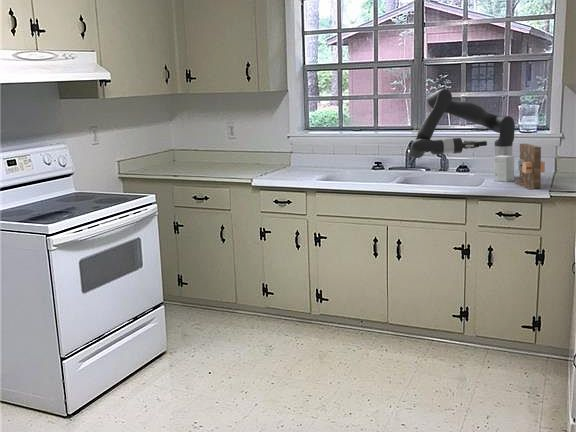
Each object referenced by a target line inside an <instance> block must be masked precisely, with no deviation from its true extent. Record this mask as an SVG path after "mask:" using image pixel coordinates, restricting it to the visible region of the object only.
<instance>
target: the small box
mask: <svg viewBox="0 0 576 432" xmlns="http://www.w3.org/2000/svg"><path fill="white" fill-rule="evenodd" d="M493 157H494V158H493V159H494V165H493V166H494V167H493V170H494V172H493V175H494V176H493V177H494V179H493V180H494V182H505V183H508V182H513V181H515V156H514V155H512V156H504V155H501V156H495V155H494V156H493Z"/></svg>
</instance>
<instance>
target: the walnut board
mask: <svg viewBox="0 0 576 432" xmlns="http://www.w3.org/2000/svg"><path fill="white" fill-rule="evenodd" d="M541 157H542V147H541V146H538V145H532V144H529V143H520V144H519V159H524V160H525V162H530V161H531V162H533V173H523V172H522V170H521V171H519V181H514V184H516V185H517V186H521V187H523V188H525V189H527V190H540V189H541V175H542V174H541V173H542V172H541V161H542V158H541Z"/></svg>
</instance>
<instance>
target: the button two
mask: <svg viewBox="0 0 576 432" xmlns="http://www.w3.org/2000/svg"><path fill="white" fill-rule="evenodd" d="M545 164H546V162H545V161H543V160H541V173H545V172H546V169H545V168H546V165H545ZM522 172H523V173H533V162H531V161H530V162H522Z"/></svg>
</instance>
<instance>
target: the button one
mask: <svg viewBox="0 0 576 432" xmlns="http://www.w3.org/2000/svg"><path fill="white" fill-rule="evenodd" d="M522 162H525V160H524V159H520V158H519V159H517V158H516V159H514V171H519V172H520V171H521V170H522Z"/></svg>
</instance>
